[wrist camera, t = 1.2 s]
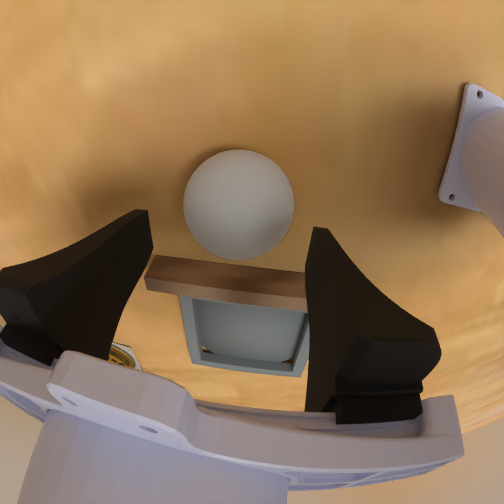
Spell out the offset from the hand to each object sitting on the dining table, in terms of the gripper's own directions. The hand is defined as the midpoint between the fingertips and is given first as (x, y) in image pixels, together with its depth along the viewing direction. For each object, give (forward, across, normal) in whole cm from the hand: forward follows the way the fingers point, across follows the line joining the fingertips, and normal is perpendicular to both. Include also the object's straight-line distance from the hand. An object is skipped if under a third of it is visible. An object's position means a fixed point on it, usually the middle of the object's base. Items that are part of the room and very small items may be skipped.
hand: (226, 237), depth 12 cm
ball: (+6, 0, 0) cm, 6 cm away
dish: (+6, -1, +14) cm, 15 cm away
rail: (+6, -1, +7) cm, 9 cm away
